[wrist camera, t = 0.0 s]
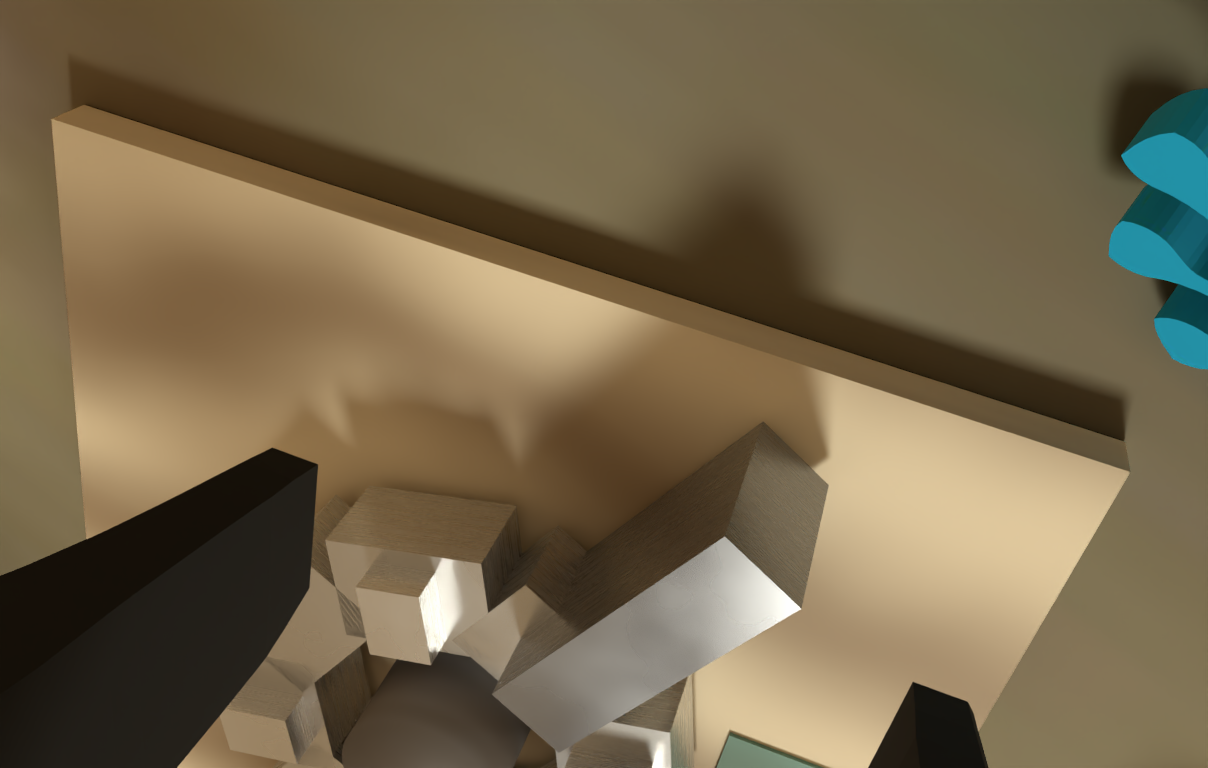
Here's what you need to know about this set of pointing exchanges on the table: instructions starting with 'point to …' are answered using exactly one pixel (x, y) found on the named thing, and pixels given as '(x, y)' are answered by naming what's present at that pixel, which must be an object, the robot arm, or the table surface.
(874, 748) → the beige square board
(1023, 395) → the table surface
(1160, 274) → the gear
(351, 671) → the faceted metal ring
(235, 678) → the robot arm
